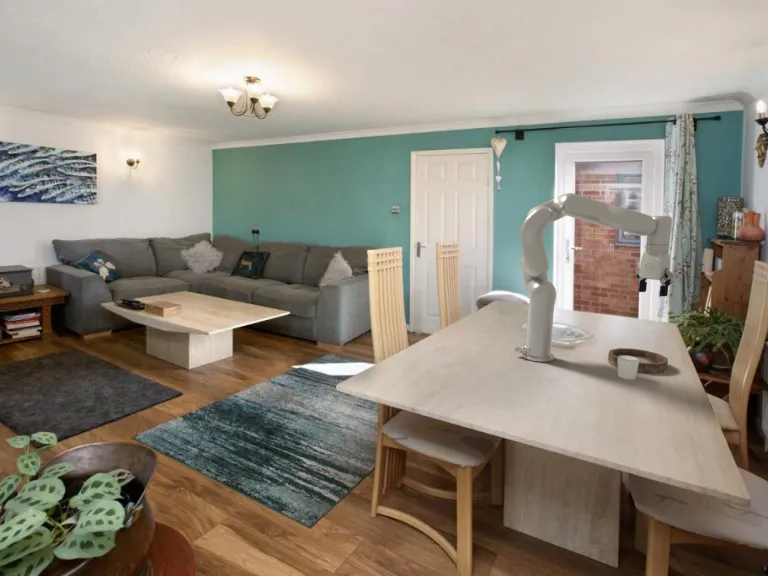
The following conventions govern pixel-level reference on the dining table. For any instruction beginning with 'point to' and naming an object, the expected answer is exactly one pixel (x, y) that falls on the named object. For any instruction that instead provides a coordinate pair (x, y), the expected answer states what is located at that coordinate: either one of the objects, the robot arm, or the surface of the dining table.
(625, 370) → the white cup
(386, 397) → the dining table surface
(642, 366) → the round wooden tray
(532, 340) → the robot arm
